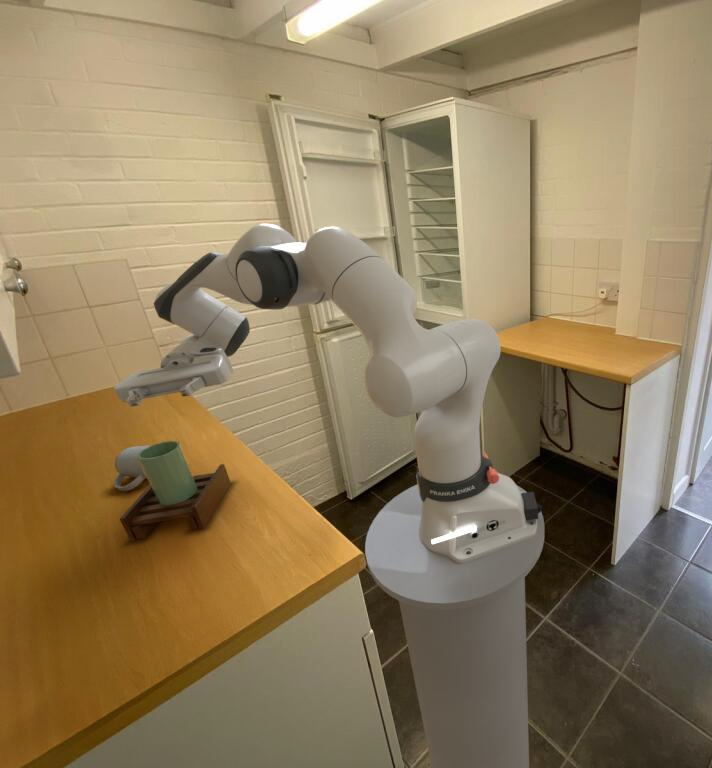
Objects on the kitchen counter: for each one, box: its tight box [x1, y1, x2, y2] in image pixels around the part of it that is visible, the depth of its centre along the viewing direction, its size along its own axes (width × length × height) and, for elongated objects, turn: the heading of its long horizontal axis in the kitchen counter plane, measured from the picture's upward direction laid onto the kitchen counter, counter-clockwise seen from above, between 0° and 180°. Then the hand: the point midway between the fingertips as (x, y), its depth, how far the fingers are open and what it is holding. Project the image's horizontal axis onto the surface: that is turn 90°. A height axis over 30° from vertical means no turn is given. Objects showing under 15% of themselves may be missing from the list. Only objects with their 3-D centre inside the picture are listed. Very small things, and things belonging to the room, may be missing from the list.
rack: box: [119, 463, 232, 542], centre depth 87 cm, size 13×15×6 cm
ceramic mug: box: [113, 445, 150, 492], centre depth 98 cm, size 11×8×8 cm
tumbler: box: [138, 440, 198, 505], centre depth 84 cm, size 7×7×11 cm
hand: (158, 398), depth 82 cm, fingers open, 8 cm apart
